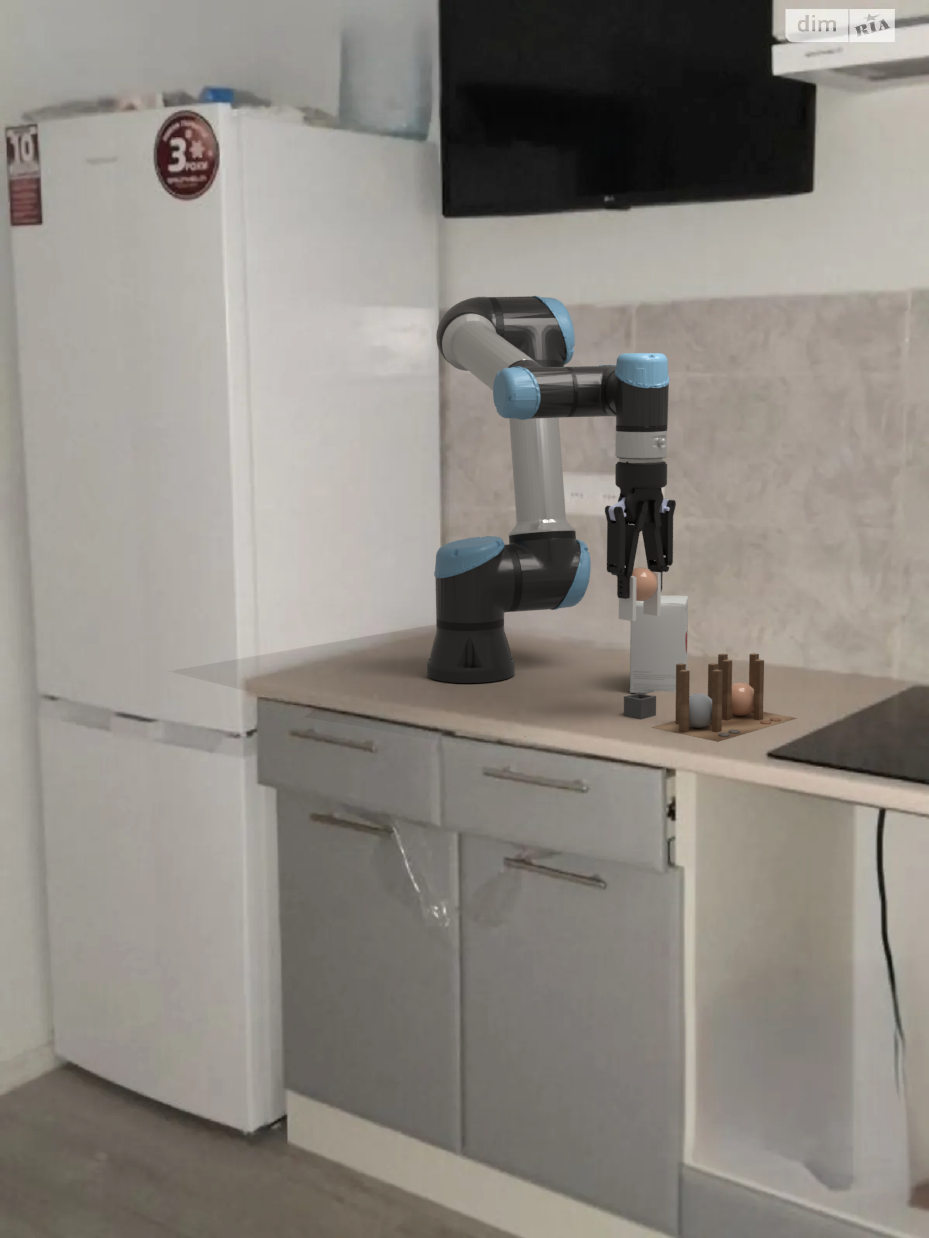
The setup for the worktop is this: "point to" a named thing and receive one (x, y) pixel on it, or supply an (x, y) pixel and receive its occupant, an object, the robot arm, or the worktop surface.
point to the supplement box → (658, 646)
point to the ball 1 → (700, 710)
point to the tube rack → (722, 702)
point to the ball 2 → (742, 699)
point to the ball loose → (644, 583)
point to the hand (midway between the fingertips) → (639, 616)
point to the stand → (639, 706)
